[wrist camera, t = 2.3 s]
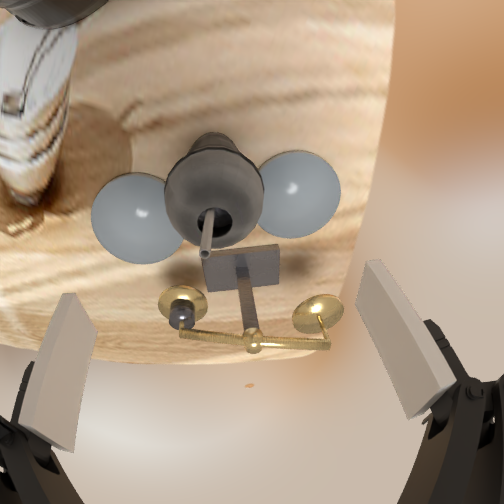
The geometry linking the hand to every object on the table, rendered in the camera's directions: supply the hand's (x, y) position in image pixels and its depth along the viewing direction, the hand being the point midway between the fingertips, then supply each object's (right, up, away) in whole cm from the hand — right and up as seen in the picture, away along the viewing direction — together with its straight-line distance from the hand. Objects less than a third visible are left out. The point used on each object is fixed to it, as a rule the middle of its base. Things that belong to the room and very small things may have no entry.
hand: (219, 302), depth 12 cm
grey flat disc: (-12, +6, +21) cm, 25 cm away
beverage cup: (-3, +13, +17) cm, 22 cm away
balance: (0, 0, +27) cm, 27 cm away
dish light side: (+6, +9, +21) cm, 24 cm away
